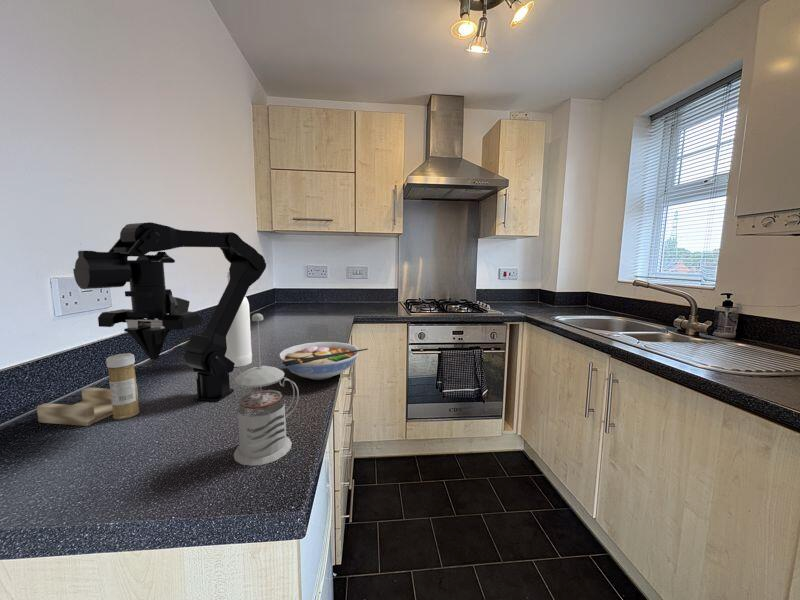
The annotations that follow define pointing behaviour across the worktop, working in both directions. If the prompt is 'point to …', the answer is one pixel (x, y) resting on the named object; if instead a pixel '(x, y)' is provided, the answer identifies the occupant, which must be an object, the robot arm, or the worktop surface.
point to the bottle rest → (79, 409)
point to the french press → (262, 415)
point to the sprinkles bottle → (123, 385)
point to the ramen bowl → (319, 359)
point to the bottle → (240, 336)
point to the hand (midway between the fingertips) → (154, 359)
